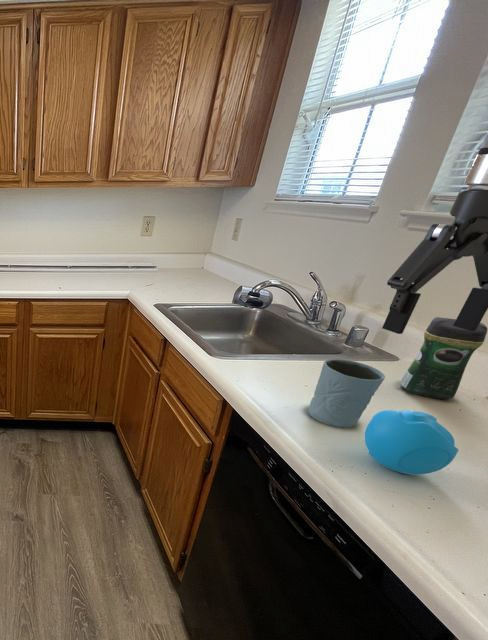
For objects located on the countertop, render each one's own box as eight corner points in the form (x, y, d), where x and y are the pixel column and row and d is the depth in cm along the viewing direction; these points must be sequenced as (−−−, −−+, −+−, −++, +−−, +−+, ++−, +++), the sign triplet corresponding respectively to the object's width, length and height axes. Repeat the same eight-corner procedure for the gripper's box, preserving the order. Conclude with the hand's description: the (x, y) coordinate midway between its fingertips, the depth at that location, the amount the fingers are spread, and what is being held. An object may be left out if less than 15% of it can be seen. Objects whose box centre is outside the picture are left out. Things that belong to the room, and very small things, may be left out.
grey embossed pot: (314, 401, 98) (333, 355, 93) (368, 420, 91) (392, 371, 86) (297, 414, 93) (316, 366, 88) (353, 435, 85) (377, 383, 80)
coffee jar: (447, 391, 104) (487, 320, 96) (455, 403, 98) (498, 329, 90) (396, 380, 109) (430, 312, 101) (400, 392, 103) (436, 320, 95)
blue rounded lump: (453, 481, 73) (489, 425, 68) (410, 495, 70) (443, 437, 65) (377, 443, 83) (403, 392, 78) (336, 453, 80) (361, 401, 75)
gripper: (538, 188, 64) (467, 320, 73) (395, 187, 61) (340, 324, 70) (609, 189, 57) (521, 334, 66) (452, 188, 54) (383, 340, 64)
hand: (428, 329), depth 68 cm, fingers open, 13 cm apart
